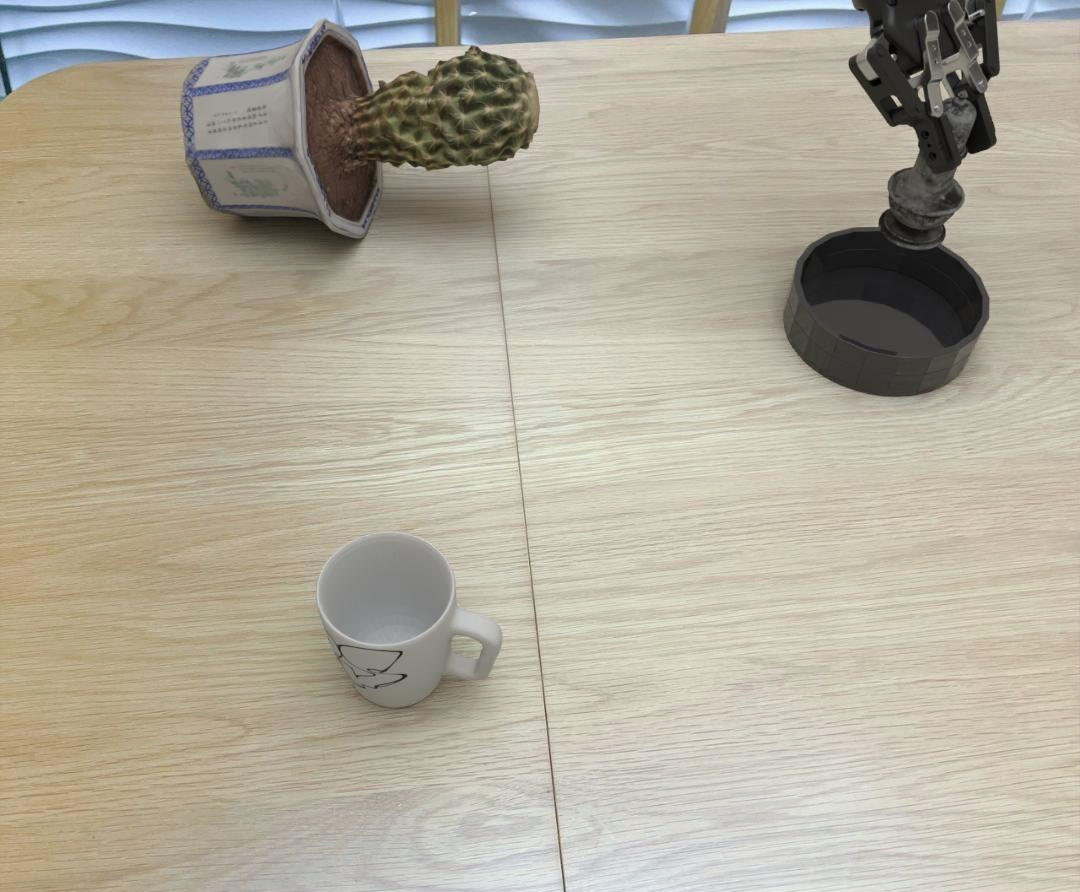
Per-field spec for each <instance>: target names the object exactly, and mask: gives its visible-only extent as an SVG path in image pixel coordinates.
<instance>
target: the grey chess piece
mask: <svg viewBox="0 0 1080 892" xmlns="http://www.w3.org/2000/svg"><path fill="white" fill-rule="evenodd" d="M958 96H959V97H953V98H950V97H948V98H945V99H942V101H943V107H944V112H943V115H942V116H944V115H947V117H948V120H949V123H950V126H951V129H952V132H953V135H954V138H955V141H956V144H957V147H958V150H959V153H960V156H961V159H962V161H963V160H964V159H965V158H966V157H967V155H968V154H969V153H968V148H967V146H966V142H967V139H968V137H969V134H970V132H971V129H972V127H973V124H974V122H975V119H976V109H975V107H974V105H973V104H972V103H971V102H969V101H968V100H966V99H965V98H967V97H968V95H967V92H966V90H963V91H961V92H960V93H958ZM942 116H941V117H942ZM917 147H918V149H919V150H918V154H917V157H916V159H915V162H914V164H913V166H911V167H904V168H902V169H899V170H896V171H895V172H894V173H892V174H891V176H890V177H889V179H888V181H887V192H888V206H889V208H887V209H886V210H884V211H883V212H881V214H880V217H879V219H878V227H879V228H880V231H881V232H882V234H883V235H884V236H885V237H886V238H887V239H888V240H889V241H891V242H892V243H894V244H896V245H898V246H901V247H904V248H907V249H912V250H927V249H932V248H934V247H936V246H938V245H940V244H942V243H943V242H944V240H945V238H946V236H947V229H946V226H945V224H946V223H947V222H948V221H949V220H950V219H951V218H952V217H953V216H954V215H955V213H956V212H958V211H959V210H960V209H961V208H962V207H963V205H964V203H965V201H966V198H965V197H966V193H965V191H964V189H963V187H962V185H961V184H960V183H959V181H958V180H956V179H955V174H956V173H957V169H958V167H957V168H955V169H953V170H951V171H947V172H944V173H941V174H934V173H933V172H932V171H931V169H930V168H929V167H928V165H927V164H926V161H925V158H924V155H923V152H922V151H923V150H922V149H921V146H920V143H919V140H918V142H917Z"/></svg>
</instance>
